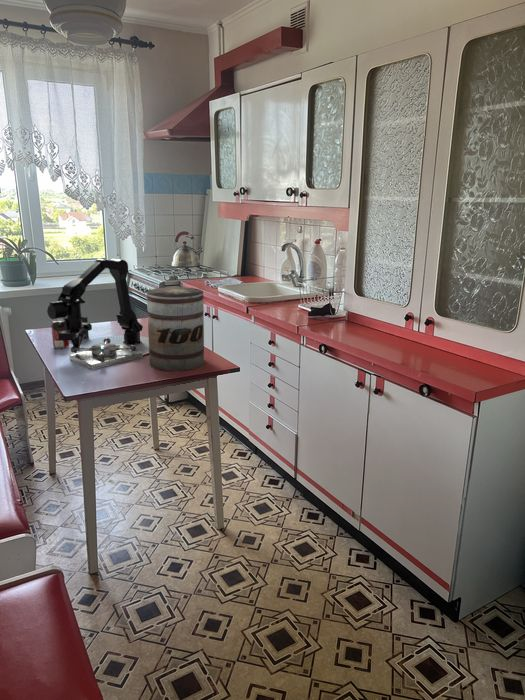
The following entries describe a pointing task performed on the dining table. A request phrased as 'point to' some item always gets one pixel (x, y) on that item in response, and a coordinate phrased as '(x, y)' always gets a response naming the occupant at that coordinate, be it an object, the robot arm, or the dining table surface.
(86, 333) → the small box
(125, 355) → the stand
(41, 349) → the dining table surface
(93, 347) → the capstan
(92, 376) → the dining table surface
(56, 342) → the soda can
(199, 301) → the barrel
